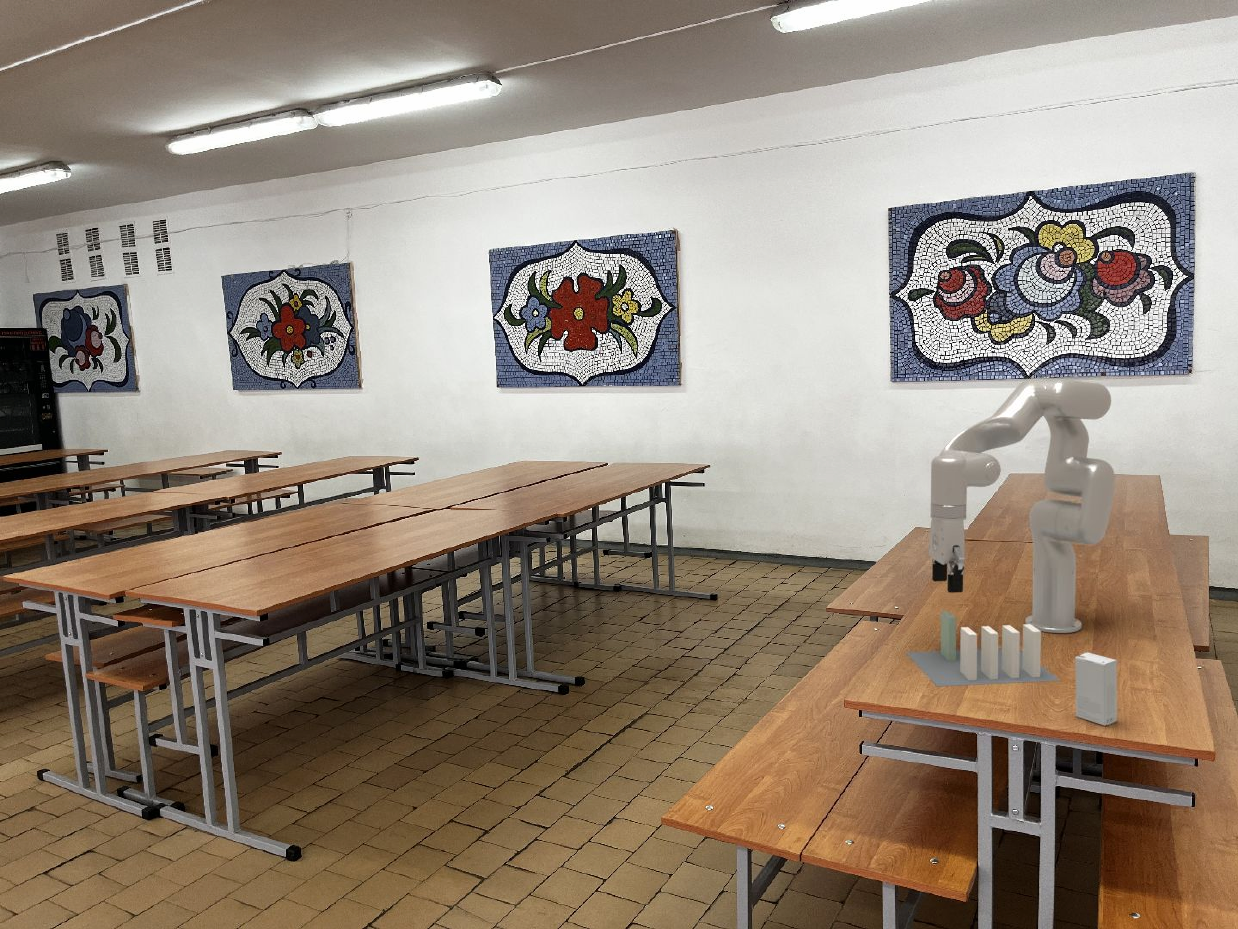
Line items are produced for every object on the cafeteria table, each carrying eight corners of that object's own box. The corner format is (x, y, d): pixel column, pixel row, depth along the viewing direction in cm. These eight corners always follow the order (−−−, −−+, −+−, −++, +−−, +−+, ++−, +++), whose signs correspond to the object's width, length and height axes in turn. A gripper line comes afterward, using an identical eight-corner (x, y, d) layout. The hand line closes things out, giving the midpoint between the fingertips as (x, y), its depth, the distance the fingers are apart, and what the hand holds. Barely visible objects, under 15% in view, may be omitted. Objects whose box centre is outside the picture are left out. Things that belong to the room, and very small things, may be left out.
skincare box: (1118, 721, 176) (1119, 659, 174) (1104, 727, 173) (1106, 664, 172) (1086, 711, 181) (1088, 650, 179) (1073, 717, 179) (1074, 656, 177)
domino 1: (967, 671, 203) (968, 627, 201) (976, 680, 198) (977, 634, 196) (960, 672, 203) (960, 627, 201) (969, 680, 198) (969, 634, 196)
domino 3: (1009, 669, 203) (1009, 625, 201) (1019, 678, 198) (1019, 632, 196) (1001, 670, 203) (1002, 625, 201) (1011, 678, 198) (1012, 632, 196)
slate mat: (1017, 649, 216) (1017, 647, 216) (1060, 682, 195) (1060, 680, 195) (905, 654, 216) (905, 652, 216) (936, 688, 195) (936, 686, 195)
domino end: (947, 653, 215) (948, 610, 213) (955, 660, 210) (956, 617, 208) (941, 653, 215) (941, 611, 213) (948, 660, 210) (948, 617, 208)
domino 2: (988, 670, 203) (988, 626, 201) (997, 679, 198) (998, 633, 196) (981, 671, 203) (981, 626, 201) (990, 679, 198) (990, 633, 196)
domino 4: (1029, 668, 203) (1030, 624, 201) (1040, 677, 198) (1041, 631, 196) (1022, 669, 203) (1023, 624, 201) (1032, 677, 198) (1033, 631, 196)
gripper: (918, 505, 216) (917, 577, 218) (945, 519, 199) (944, 597, 201) (951, 504, 216) (949, 576, 218) (980, 518, 199) (978, 596, 201)
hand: (947, 586), depth 210 cm, fingers open, 9 cm apart
